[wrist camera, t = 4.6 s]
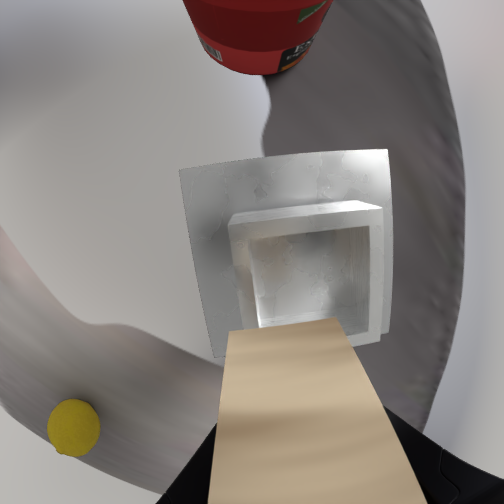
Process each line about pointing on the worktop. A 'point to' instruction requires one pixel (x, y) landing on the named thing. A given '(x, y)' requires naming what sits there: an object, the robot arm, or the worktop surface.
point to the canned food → (257, 31)
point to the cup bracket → (293, 242)
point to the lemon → (73, 427)
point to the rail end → (304, 424)
